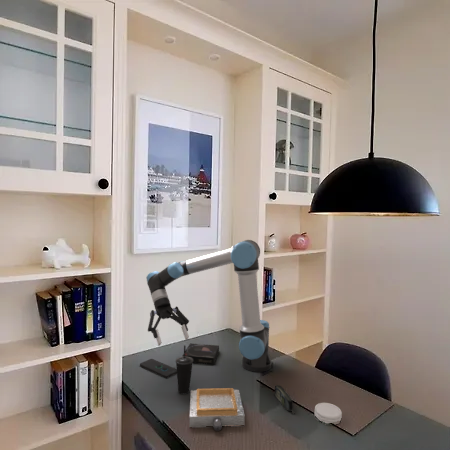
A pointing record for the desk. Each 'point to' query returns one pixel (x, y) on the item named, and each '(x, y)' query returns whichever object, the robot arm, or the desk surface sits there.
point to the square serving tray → (216, 408)
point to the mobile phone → (284, 398)
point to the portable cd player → (202, 353)
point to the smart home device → (159, 368)
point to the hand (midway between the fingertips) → (174, 341)
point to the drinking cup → (184, 373)
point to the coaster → (328, 412)
